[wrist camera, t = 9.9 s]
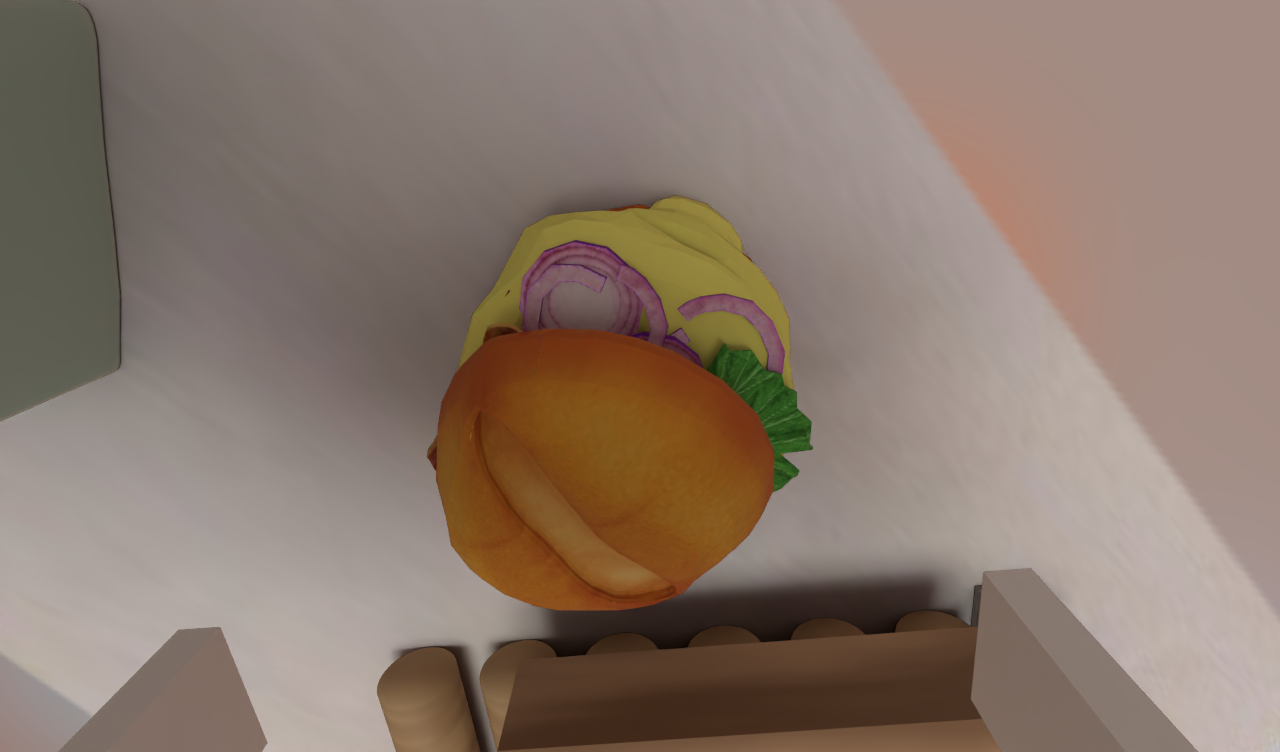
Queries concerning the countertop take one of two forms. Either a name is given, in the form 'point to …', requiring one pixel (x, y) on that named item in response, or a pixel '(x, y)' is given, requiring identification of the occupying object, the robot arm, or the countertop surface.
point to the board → (756, 698)
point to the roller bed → (432, 687)
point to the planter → (53, 208)
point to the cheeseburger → (617, 409)
